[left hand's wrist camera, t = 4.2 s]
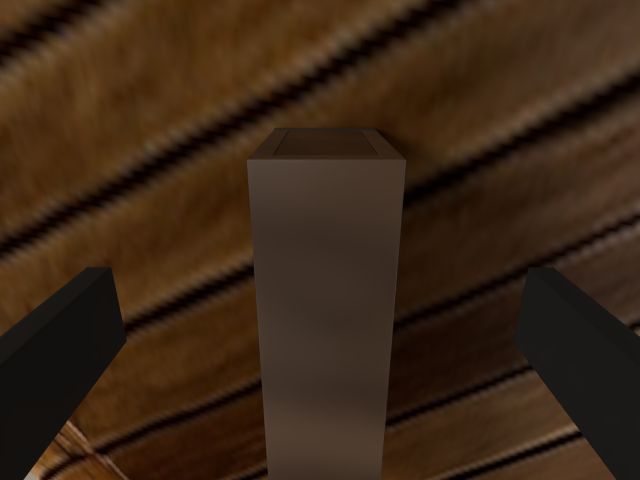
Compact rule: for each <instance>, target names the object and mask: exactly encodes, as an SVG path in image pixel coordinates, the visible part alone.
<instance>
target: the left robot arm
mask: <svg viewBox="0 0 640 480" xmlns="http://www.w3.org/2000/svg"><path fill="white" fill-rule="evenodd" d="M126 341H127V340H126V335H125V331H124V326H123V321H122V316H121V312H120V307H119V302H118V297H117V293H116V288H115V283H114V278H113V274H112V269H111V268H86V269H84V270H83V271H82V272H81V273H79V274H78V275H77V276H76V277H74V278H73V279H72V280H71V281H69V282H68V283H67V284H66V285H64V286H63V287H62V288H61V289H59V290H58V291H57V292H56V293H54V294H53V295H52V296H51V297H49V298H48V299H47V300H46V301H44V302H43V303H42V304H41V305H39V306H38V307H37V308H36V309H34V310H33V311H32V312H31V313H29V314H28V315H27V316H26V317H24V318H23V319H22V320H21V321H19V322H18V323H17V324H16V325H14V326H13V327H12V328H11V329H9V330H8V331H7V332H6V333H4V334H3V335H2V336H1V337H0V480H24V478H25V477H26V476H27V474H28V473H29V472H30V470H31V469H32V468H33V466H34V465H35V464H36V462H37V461H38V460H39V458H40V457H41V456H42V454H43V453H44V451H45V450H46V449H47V447H48V446H49V445H50V443H51V442H52V441H53V439H54V438H55V437H56V435H57V434H58V433H59V431H60V430H61V429H62V427H63V426H64V425H65V423H66V422H67V421H68V419H69V418H70V417H71V415H72V414H73V413H74V411H75V410H76V409H77V407H78V406H79V404H80V403H81V402H82V400H83V399H84V398H85V396H86V395H87V394H88V392H89V391H90V390H91V388H92V387H93V386H94V384H95V383H96V382H97V380H98V379H99V378H100V376H101V375H102V374H103V372H104V371H105V370H106V368H107V367H108V366H109V364H110V363H111V361H112V360H113V359H114V357H115V356H116V355H117V353H118V352H119V351H120V349H121V348H122V347H123V345H124V344H125V343H126ZM513 341H514V343H515V344H516V345H517V347H518V348H519V349H520V351H521V352H522V353H523V355H524V356H525V357H526V359H527V360H528V361H529V363H530V364H531V366H532V367H533V368H534V370H535V371H536V372H537V374H538V375H539V376H540V378H541V379H542V380H543V382H544V383H545V384H546V386H547V387H548V388H549V390H550V391H551V392H552V394H553V395H554V396H555V398H556V399H557V400H558V402H559V403H560V404H561V406H562V407H563V409H564V410H565V411H566V413H567V414H568V415H569V417H570V418H571V419H572V421H573V422H574V423H575V425H576V426H577V427H578V429H579V430H580V431H581V433H582V434H583V435H584V437H585V438H586V439H587V441H588V442H589V443H590V445H591V446H592V447H593V449H594V450H595V451H596V453H597V454H598V456H599V457H600V458H601V460H602V461H603V462H604V464H605V465H606V466H607V468H608V469H609V470H610V472H611V473H612V474H613V476H614V477H615V478H616V480H640V337H639V336H638V335H637V334H636V333H634V332H633V331H632V330H631V329H629V328H628V327H627V326H626V325H624V324H623V323H622V322H621V321H619V320H618V319H617V318H616V317H614V316H613V315H612V314H611V313H609V312H608V311H607V310H606V309H604V308H603V307H602V306H601V305H599V304H598V303H597V302H596V301H594V300H593V299H592V298H591V297H589V296H588V295H587V294H586V293H584V292H583V291H582V290H581V289H579V288H578V287H577V286H576V285H574V284H573V283H572V282H571V281H569V280H568V279H567V278H566V277H564V276H563V275H562V274H561V273H559V272H558V271H557V270H556V269H554V268H529V269H528V274H527V278H526V283H525V288H524V293H523V297H522V302H521V307H520V312H519V316H518V321H517V326H516V331H515V335H514V340H513Z"/></svg>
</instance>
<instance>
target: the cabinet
mask: <svg viewBox="0 0 640 480" xmlns="http://www.w3.org/2000/svg"><path fill="white" fill-rule="evenodd" d="M247 171H248V186H249V200H250V215H251V230H252V244H253V259H254V274H255V288H256V303H257V318H258V333H259V347H260V362H261V377H262V391H263V406H264V421H265V435H266V450H267V465H268V479H269V480H381V470H382V458H383V445H384V433H385V420H386V408H387V395H388V383H389V370H390V358H391V345H392V333H393V321H394V308H395V296H396V283H397V271H398V258H399V246H400V233H401V221H402V208H403V196H404V183H405V171H406V159H405V158H404V157H403V156H401V154H400V153H399V152H398V151H397V150H395V149H394V148H393V147H392V146H391V145H390V144H389V143H388V142H387V141H386V140H385V139H384V138H383V137H382V136H381V135H380V134H379V133H378V132H377V131H376V129H375V128H275V129H274V130H273V132H272V133H271V134H270V135H269V136H268V137H267V139H266V140H265V141H264V142H263V143H262V144H261V145H260V146H259V147H258V148H257V149H256V151H255V152H254V153H253V154H252V155H251V156H250V157H249V158H248V159H247Z"/></svg>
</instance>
